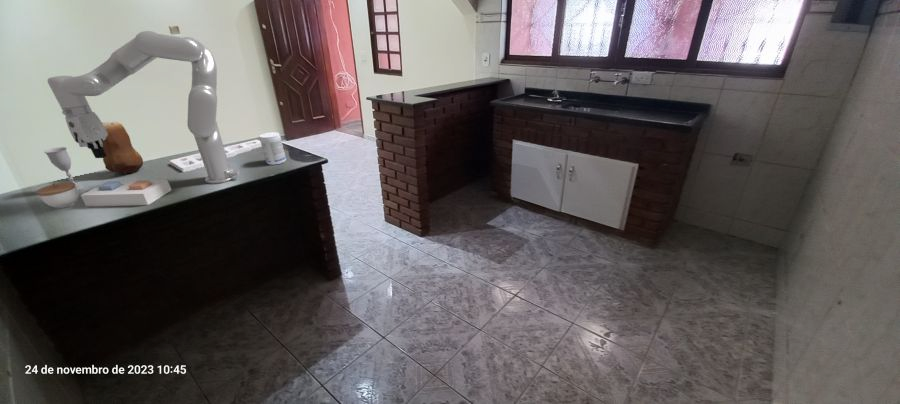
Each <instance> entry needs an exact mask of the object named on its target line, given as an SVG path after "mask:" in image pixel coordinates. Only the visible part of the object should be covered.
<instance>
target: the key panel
mask: <svg viewBox="0 0 900 404" xmlns="http://www.w3.org/2000/svg"><path fill="white" fill-rule="evenodd" d="M112 181H113V180H110V181H108V182H112ZM120 181H121V184H122V186H120V187H118V188H116V189H114V190H107V191H100V190H99V188H98V186H96V187H95V188H92V189H91V190H89V191H86V192H84V193H82V194H80V197H81V198H82V201H83V202H84V205H85V206H86V207H111V206H112V207H117V206H118V207H119V206H149V205H151V204H153V203H154V202H155V201H157V200H158V199H160V198H162V197H164V195H166V194H167V193H168V194H169V192H171V191H172V187H171V185H170V182H169V180H168V179H142V180H141V179H139V180H133V179H132V180H120ZM137 181H150V182H151V184H152V185H150V186H148V187H147V188H145V189H143V190H130V189H129V185H131V184H133V183H135V182H137Z"/></svg>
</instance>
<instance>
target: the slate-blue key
mask: <svg viewBox="0 0 900 404" xmlns="http://www.w3.org/2000/svg"><path fill="white" fill-rule="evenodd" d="M111 181H112V182H109V181H107V182H104V183H103V184H100V185H98V186H97V187H98V188H99V190H100V191H107V190H114V189H116V188H118V187H120V186H122V184H121V181H122V180H111Z"/></svg>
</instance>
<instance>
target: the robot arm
mask: <svg viewBox="0 0 900 404" xmlns="http://www.w3.org/2000/svg"><path fill="white" fill-rule="evenodd" d="M156 59H164V60H173V61H180V62H188V63H190V64H191V87H190V90H189V93H188V99H187V101H188V102H187V125H186V126H187V129H188V130H189V131H190V133H191V134H193V136H194V140H195V142H196V145H197V148H198V152H199V153H200V155H201V158H200V159H201V160H203V163H204V166H203V167H204V169H205V172H206V175H207V176H206V177H205V178H204V181H205V183H207V184H213V185H214V184H222V183H226V182H229V181H232V180H234V179H236V177H237V176H240V170H239V169H234V167H233V166H231V165H230V163H229V159H228V158H227V156H226V153H225V149H224V147H225V146H224V143H223V139H222V136H221V134H220V133H221V132H220V129H219V127H218V122H217V110H218V109H217V107H218V96H217V83H218V82H217V78H218V77H217V76H218V75H217V74H218V73H217V72H218V71H217V63H216V60H215V58H214V56H213V54H212V52H211V51H210V50H209V49H208V47H206V46H205V45H204V44H203V43H202V42H200V41H199V40H197V39H195V38H194V37H188V36H187V37H186V36H185V37H182V36H176V35H167V34H164V33H163V34H162V33H158V32H156V31H150V30H143V31H141V32H139V33H137V34H136V35H135V37H134V38H132V39H131V40H130V41H128V42H126V43H124V45H122V46H120V47H119V48H117V49H116V50H114V51H113V52H112V53H111V55H110V56H109V58H108V59H107V60H106V61H104V62H103V63H102V64H100V65H99V66H97V67H96V68H94V69H92V70H91V71H89V72H88V73H84V74H81V75H76V76H72V75H57V76H51V77H48V78H47V84H48V86H49V88H50V89H51V91H52V93H53V95H54V97H55V99H56V101H57V103H58V104H59V106H60V108H61V110H62V111H61V113H62V114H63V115H64V116H65V118H64V119H65V121H66V125H67V128H68V130H69V132H70V135H71V137H72V138H73V140H74V142H75V143H77V144H78V145H79V147H80V148H87V149H89V150H91V153H92V155H93V156H94V158H95V159H103V158H104V157H106V156H107V155H106V153H105V151H104V149H103V141H104V140H105V139H106V137H107V136H108V133H107V131H106V129H105V127H104V125H103V124H102V123H103V122H102V120H101V119H100V117H99V115H98V114H97V113H95V111H93V110H92V108H91V106H90V104H89V102H88V100H87V98H86V97H96V96H97V97H98V96H101V95H103V94H104V93H106V92H108V91H109V90H110V89H112V88H113V87H115V86H116V85H118V84H119V83H121V82H122V81H124V80H125V79H126V78H128V77H129V76H131V75H132V76H133V75H134V74H136V73H137V72H138V71H140V70H142V69H143V68H144V67H146V66H147V65H148V64H150V63H152V62H153V61H154V60H156Z"/></svg>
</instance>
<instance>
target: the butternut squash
mask: <svg viewBox="0 0 900 404" xmlns="http://www.w3.org/2000/svg"><path fill="white" fill-rule="evenodd" d="M102 124H103V125H104V127H105V129H106V131H107V133H108V136H107V137H106V139H105V140H104V141H103V149H104V151H105V153H106V155H107V156H106V157H104V158H102V160H103V161H102V162H103V164H104V167H105V169H106V170H108V171H109V172H111V173H113V174H118V175H124V174H127V175H128V174H134V173H136V172H137V171H139V170H140V169H141V168H142V166H143V164H144V159H143V157H142V155H141V154H140V152H139V151H137V150H136V149H135V148H134V147H133V145H132V141H131V138H130V136H129V133H128V132H127V130H126V128H125V126H124V125H122V124H121V123H120V122H118V121H109V122H102Z"/></svg>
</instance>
